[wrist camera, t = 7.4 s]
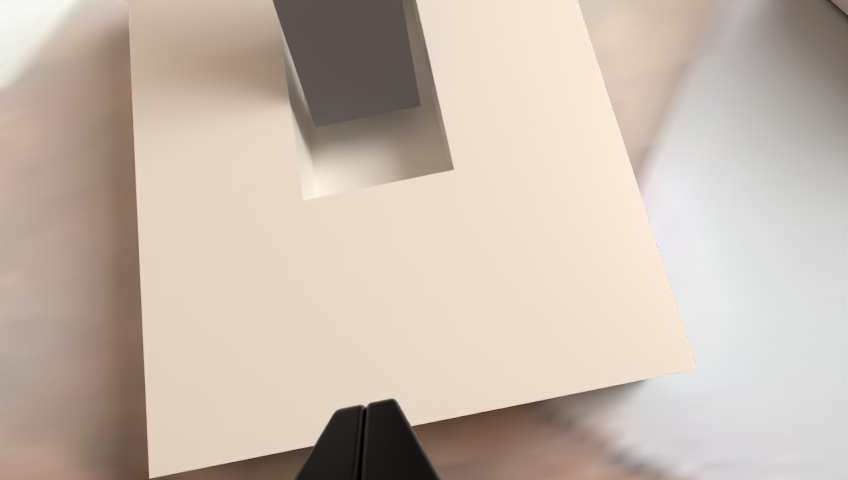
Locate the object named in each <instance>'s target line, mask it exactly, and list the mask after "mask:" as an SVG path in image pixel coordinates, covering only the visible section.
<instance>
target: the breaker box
mask: <svg viewBox="0 0 848 480" xmlns="http://www.w3.org/2000/svg"><path fill="white" fill-rule="evenodd" d="M402 3H403V8H404V14H405V20H406V25H407V31H408V37H409V42H410V48H411V53H412V59H413V65H414V70H415V76H416V82H417V87H418V93H419V99H420V104H421V106H417V107H412V108H407V109H402V110H398V111H393V112H388V113H383V114H378V115H373V116H368V117H364V118H359V119H354V120H349V121H344V122H339V123H334V124H330V125H325V126H320V127H315V125H314V122H313V119H312V116H311V113H310V110H309V107H308V104H307V101H306V98H305V95H304V92H303V90H302V87H301V84H300V81H299V78H298V75H297V72H296V69H295V66H294V63H293V60H292V57H291V54H290V51H289V48H288V45H287V42H286V39H285V36H284V33H283V30H282V27H281V24H280V21H279V18H278V15H277V12H276V9H275V6H274V3H273V0H128V20H129V42H130V64H131V86H132V108H133V130H134V152H135V174H136V196H137V218H138V240H139V262H140V284H141V306H142V328H143V350H144V372H145V394H146V416H147V437H148V459H149V479H150V478H155V477H160V476H165V475H170V474H175V473H180V472H185V471H190V470H195V469H200V468H205V467H210V466H215V465H220V464H225V463H230V462H235V461H240V460H245V459H250V458H255V457H260V456H265V455H270V454H275V453H280V452H285V451H290V450H295V449H300V448H305V447H310V446H314V445H315V443H316V442H317V440H318V438H319V437H320V435H321V433H322V432H323V430H324V428H325V427H326V425H327V423H328V422H329V420H330V418H331V417H332V415H333V413H334V412H335V411H336V410H338V409H341V408H345V407H350V406H355V405H364V406H365V407H367V405H368V404H369V403H371V402H375V401H380V400H385V399H390V398H393V399H395V400H396V401H397V402H398V404H399V405H400V407H401V409H402V411H403V412H404V414H405V416H406V418H407V419H408V421H409V423H410V425H411V426H415V425H420V424H425V423H430V422H435V421H440V420H445V419H450V418H455V417H460V416H465V415H470V414H475V413H480V412H485V411H490V410H495V409H500V408H505V407H510V406H515V405H520V404H525V403H530V402H535V401H540V400H545V399H550V398H555V397H560V396H565V395H570V394H575V393H580V392H585V391H590V390H595V389H600V388H605V387H610V386H615V385H620V384H625V383H630V382H635V381H640V380H645V379H650V378H655V377H660V376H665V375H670V374H675V373H680V372H685V371H690V370H695V369H697V367H696V363H695V360H694V357H693V354H692V351H691V348H690V345H689V342H688V339H687V336H686V333H685V330H684V327H683V324H682V320H681V317H680V314H679V311H678V308H677V305H676V302H675V299H674V296H673V293H672V290H671V287H670V284H669V281H668V277H667V274H666V271H665V268H664V265H663V262H662V259H661V256H660V253H659V250H658V247H657V244H656V241H655V237H654V234H653V231H652V228H651V225H650V222H649V219H648V216H647V213H646V210H645V207H644V204H643V201H642V198H641V194H640V191H639V188H638V185H637V182H636V179H635V176H634V173H633V170H632V167H631V164H630V161H629V158H628V155H627V151H626V148H625V145H624V142H623V139H622V136H621V133H620V130H619V127H618V124H617V121H616V118H615V115H614V111H613V108H612V105H611V102H610V99H609V96H608V93H607V90H606V87H605V84H604V81H603V78H602V75H601V72H600V68H599V65H598V62H597V59H596V56H595V53H594V50H593V47H592V44H591V41H590V38H589V35H588V32H587V29H586V25H585V22H584V19H583V16H582V13H581V10H580V7H579V4H578V1H577V0H402Z"/></svg>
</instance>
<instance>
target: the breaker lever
mask: <svg viewBox="0 0 848 480" xmlns="http://www.w3.org/2000/svg"><path fill="white" fill-rule="evenodd" d="M273 3H274V6H275V9H276V12H277V15H278V18H279V21H280V24H281V27H282V30H283V33H284V36H285V39H286V42H287V45H288V48H289V51H290V54H291V57H292V60H293V63H294V66H295V69H296V72H297V75H298V78H299V81H300V84H301V87H302V90H303V92H304V95H305V98H306V101H307V104H308V107H309V110H310V113H311V116H312V119H313V122H314V125H315V127H320V126H325V125H330V124H334V123H339V122H344V121H349V120H354V119H359V118H364V117H368V116H373V115H378V114H383V113H388V112H393V111H398V110H402V109H407V108H412V107H417V106H421V104H420V99H419V93H418V87H417V82H416V76H415V70H414V65H413V59H412V53H411V48H410V42H409V37H408V31H407V25H406V20H405V14H404V8H403V3H402V0H273Z"/></svg>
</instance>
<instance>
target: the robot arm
mask: <svg viewBox="0 0 848 480" xmlns="http://www.w3.org/2000/svg"><path fill="white" fill-rule="evenodd" d="M294 480H441V478H440V476H439V474H438V472H437V471H436V469H435V467H434V465H433V464H432V462H431V460H430V458H429V457H428V455H427V453H426V451H425V449H424V448H423V446H422V444H421V442H420V441H419V439H418V437H417V435H416V434H415V432H414V430H413V428H412V426H411V425H410V423H409V421H408V419H407V418H406V416H405V414H404V412H403V411H402V409H401V407H400V405H399V404H398V402H397V401H396V400H395V399H393V398H390V399H385V400H380V401H375V402H371V403H369V404H368V405H367V407H365V406H364V405H355V406H350V407H345V408H341V409H338V410H336V411H335V412H334V413H333V415H332V417H331V418H330V420H329V422H328V423H327V425H326V427H325V428H324V430H323V432H322V433H321V435H320V437H319V438H318V440H317V442H316V443H315V445H314V447H313V448H312V450H311V452H310V453H309V455H308V457H307V458H306V460H305V462H304V463H303V465H302V467H301V468H300V470H299V472H298V473H297V475H296V477H295V478H294Z"/></svg>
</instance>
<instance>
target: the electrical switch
mask: <svg viewBox="0 0 848 480" xmlns="http://www.w3.org/2000/svg"><path fill="white" fill-rule="evenodd" d="M831 1H832V2H833V3H834V4H835V5H837V6H838V7H839V8H840V9H841V10H842V11H843V12H845V13H846V14H847V15H848V0H831Z"/></svg>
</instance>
